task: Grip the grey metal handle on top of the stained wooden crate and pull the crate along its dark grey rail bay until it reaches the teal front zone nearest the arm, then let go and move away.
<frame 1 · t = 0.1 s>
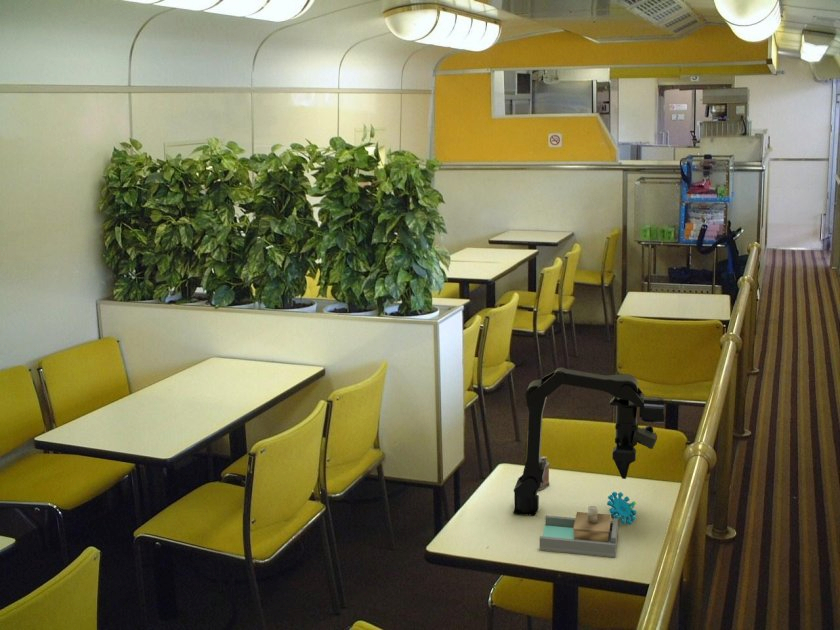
hand: (624, 472, 260), 15 cm above the table, tool pointing down, fingers open, 9 cm apart
gear: (622, 520, 263), on the table
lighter: (539, 488, 286), on the table
crate: (592, 523, 249), point 6 cm above the table, slide at 0.0 cm
bay: (579, 541, 251), on the table
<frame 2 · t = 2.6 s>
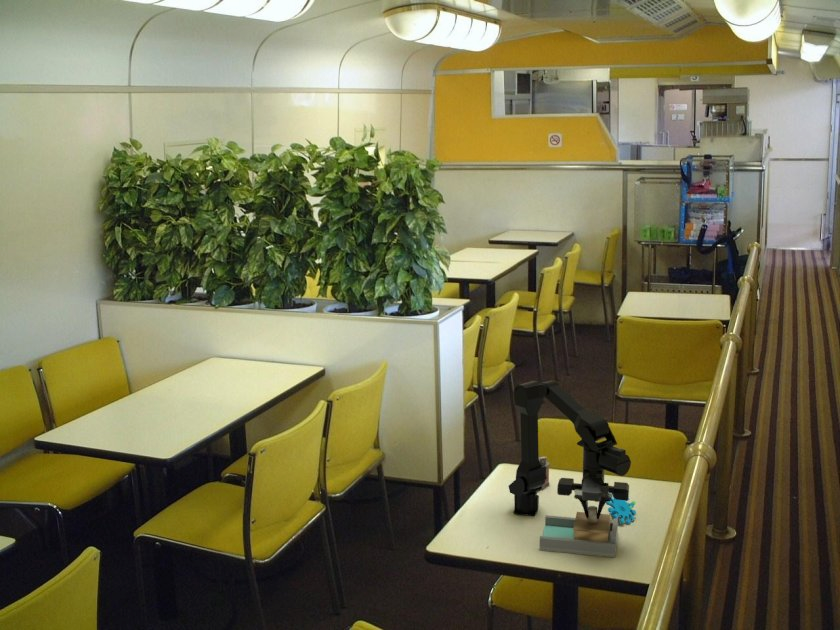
hand: (592, 518, 248), 7 cm above the table, tool pointing down, fingers closed on crate, 2 cm apart
crate: (592, 523, 249), point 6 cm above the table, slide at 0.0 cm, touching gripper
everything else where it was.
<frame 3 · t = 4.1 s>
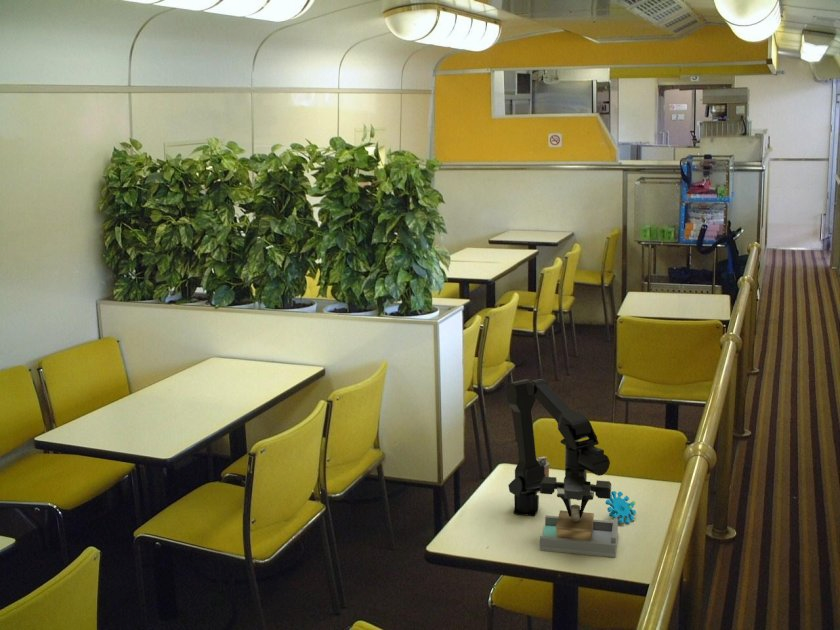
hand: (575, 516, 249), 7 cm above the table, tool pointing down, fingers closed on crate, 2 cm apart
crate: (575, 521, 250), point 6 cm above the table, slide at 4.7 cm, touching gripper
everything else where it was.
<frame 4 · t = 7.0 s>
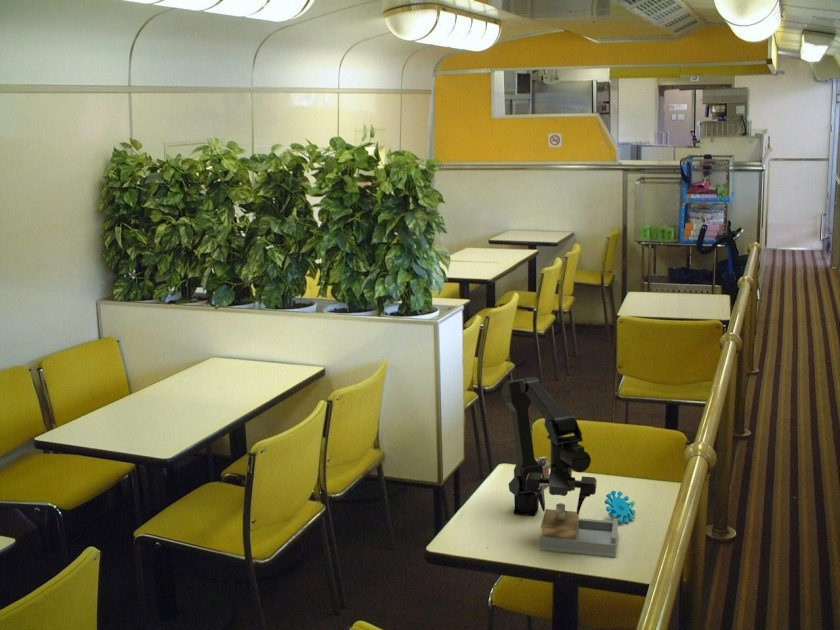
hand: (560, 512, 250), 8 cm above the table, tool pointing down, fingers open, 9 cm apart
crate: (560, 520, 251), point 6 cm above the table, slide at 8.6 cm
everything else where it was.
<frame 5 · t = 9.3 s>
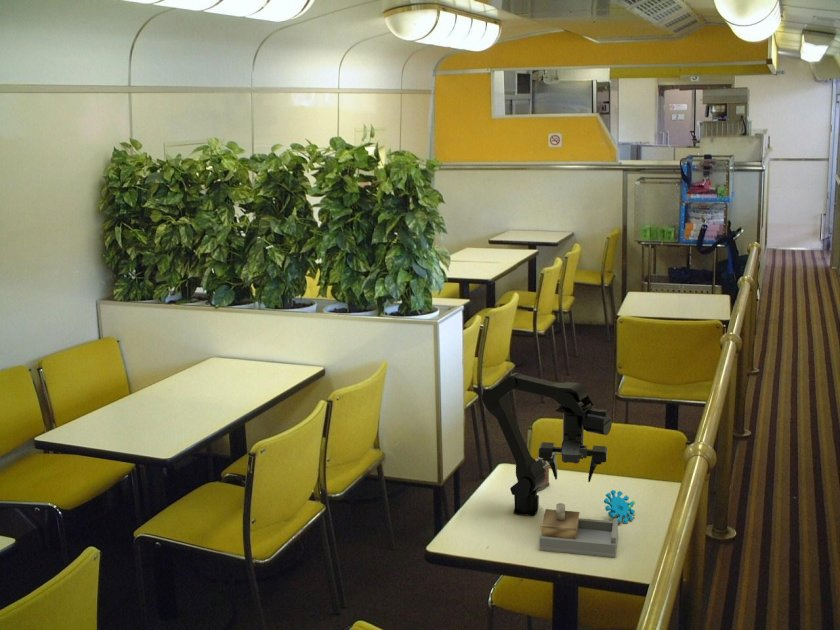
hand: (572, 480, 259), 13 cm above the table, tool pointing down, fingers open, 9 cm apart
at the end: crate slide at 8.6 cm; the gripper is holding nothing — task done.
